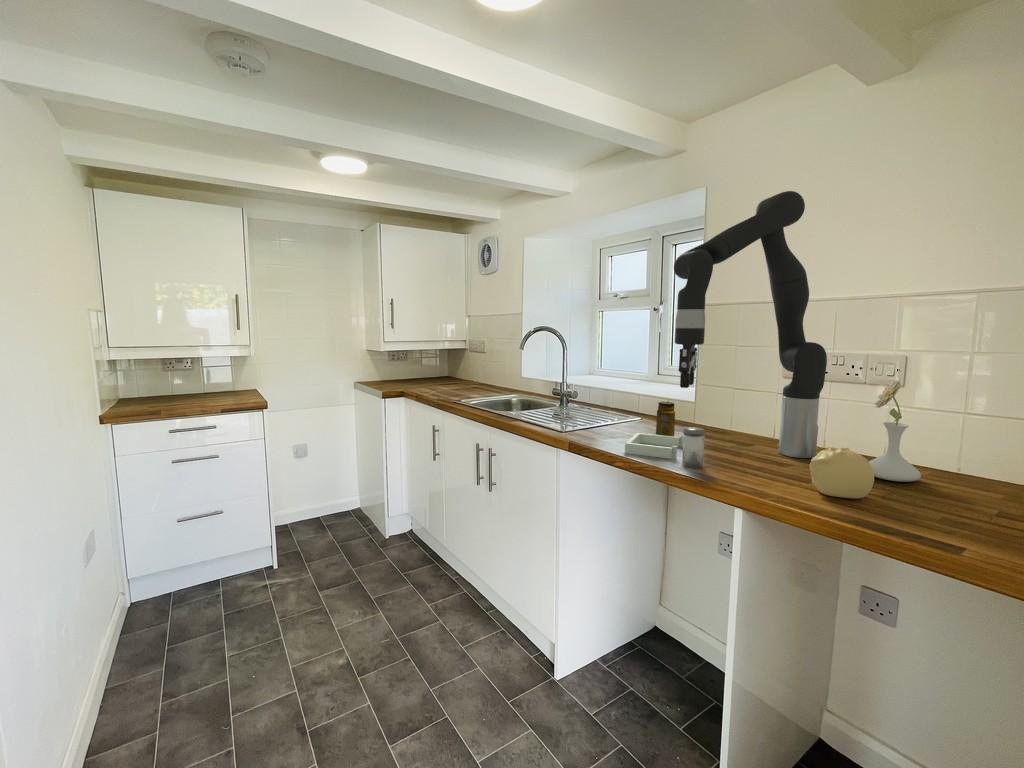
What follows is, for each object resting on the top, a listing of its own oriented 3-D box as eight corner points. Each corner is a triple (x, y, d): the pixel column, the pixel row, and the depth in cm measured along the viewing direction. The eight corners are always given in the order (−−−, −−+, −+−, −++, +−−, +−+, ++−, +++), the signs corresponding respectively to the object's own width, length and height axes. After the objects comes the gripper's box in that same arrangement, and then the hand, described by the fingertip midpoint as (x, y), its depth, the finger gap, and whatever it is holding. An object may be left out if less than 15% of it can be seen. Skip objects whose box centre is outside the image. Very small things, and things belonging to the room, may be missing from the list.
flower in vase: (868, 468, 126) (876, 375, 123) (924, 478, 118) (934, 379, 115) (855, 479, 118) (864, 379, 115) (915, 490, 109) (926, 383, 106)
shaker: (704, 465, 130) (705, 428, 128) (702, 470, 125) (703, 432, 124) (683, 462, 132) (684, 426, 131) (680, 467, 127) (682, 430, 126)
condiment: (679, 437, 163) (680, 402, 162) (667, 441, 157) (668, 405, 156) (659, 433, 168) (661, 400, 167) (647, 437, 162) (648, 402, 161)
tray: (683, 446, 149) (684, 435, 149) (675, 459, 135) (676, 446, 135) (636, 441, 156) (637, 431, 155) (624, 453, 142) (625, 441, 141)
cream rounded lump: (816, 482, 115) (820, 439, 114) (877, 495, 106) (882, 448, 105) (800, 493, 108) (803, 447, 106) (864, 508, 99) (869, 457, 97)
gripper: (701, 326, 121) (697, 389, 122) (708, 327, 133) (704, 384, 135) (670, 326, 124) (667, 388, 126) (680, 326, 137) (677, 382, 138)
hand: (687, 386), depth 130 cm, fingers open, 8 cm apart
